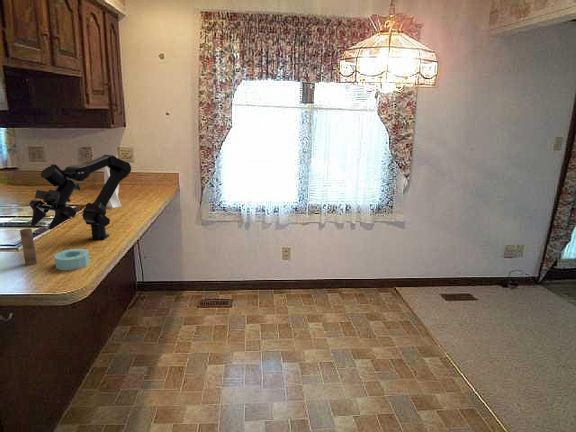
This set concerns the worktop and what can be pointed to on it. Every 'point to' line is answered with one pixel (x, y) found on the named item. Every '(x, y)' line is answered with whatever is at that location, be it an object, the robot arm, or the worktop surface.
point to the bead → (72, 259)
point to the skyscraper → (114, 199)
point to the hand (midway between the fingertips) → (40, 227)
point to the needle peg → (28, 246)
